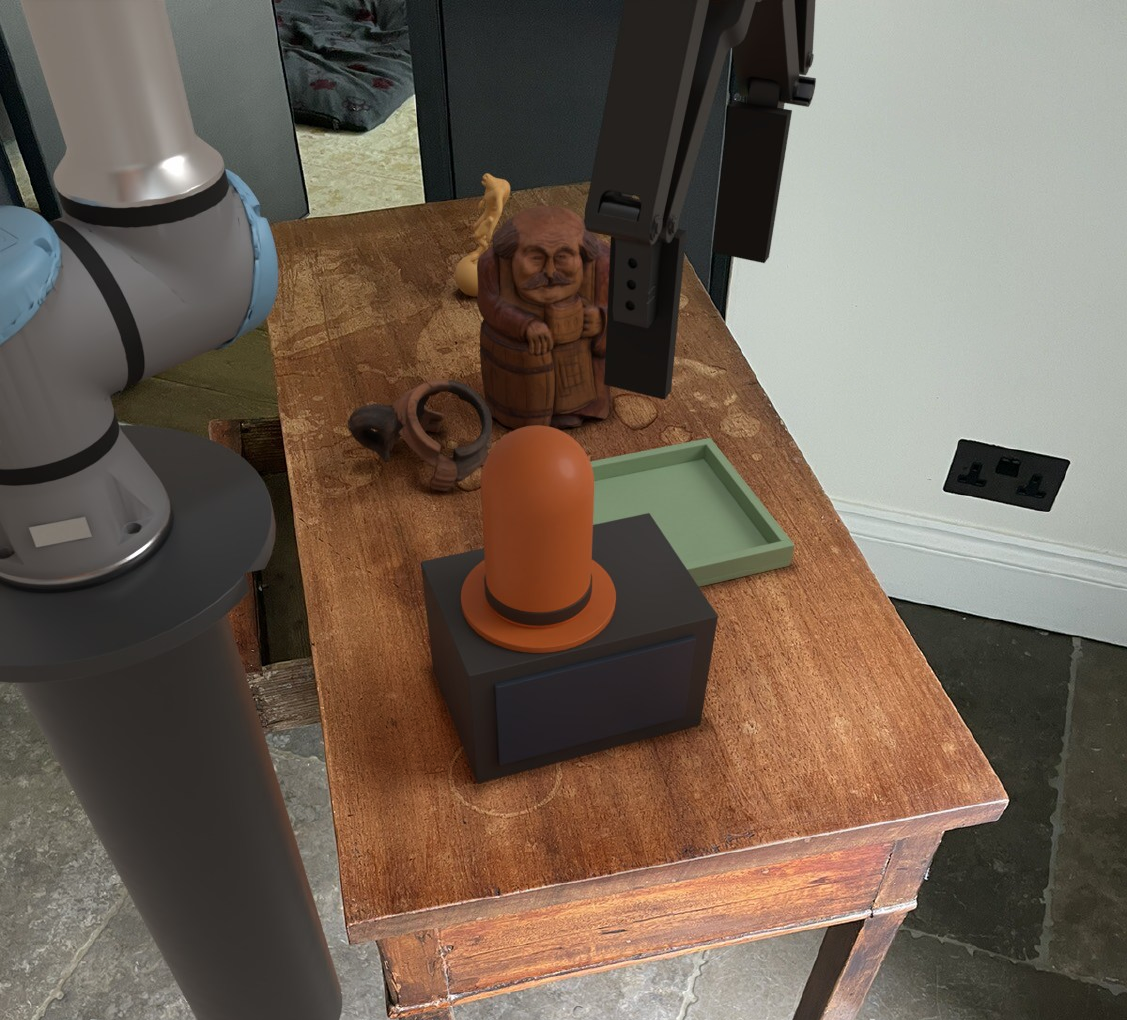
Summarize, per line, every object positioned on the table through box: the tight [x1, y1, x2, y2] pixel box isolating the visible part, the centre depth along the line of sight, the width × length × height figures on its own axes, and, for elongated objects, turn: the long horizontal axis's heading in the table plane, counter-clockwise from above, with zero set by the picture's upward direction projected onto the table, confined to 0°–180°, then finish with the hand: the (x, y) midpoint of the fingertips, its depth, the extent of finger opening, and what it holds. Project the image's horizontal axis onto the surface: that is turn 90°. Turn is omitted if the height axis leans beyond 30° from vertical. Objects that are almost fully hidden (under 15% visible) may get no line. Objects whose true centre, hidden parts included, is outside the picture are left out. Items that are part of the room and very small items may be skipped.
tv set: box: [420, 513, 719, 785], centre depth 71 cm, size 11×16×10 cm
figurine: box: [454, 172, 511, 297], centre depth 109 cm, size 8×6×12 cm
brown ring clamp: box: [347, 378, 493, 492], centre depth 91 cm, size 12×10×8 cm
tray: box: [590, 437, 795, 588], centre depth 87 cm, size 16×16×2 cm
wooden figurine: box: [476, 204, 611, 431], centre depth 91 cm, size 12×6×18 cm, turn 105°
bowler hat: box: [461, 425, 616, 653], centre depth 62 cm, size 10×10×12 cm
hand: (693, 316), depth 48 cm, fingers open, 13 cm apart
